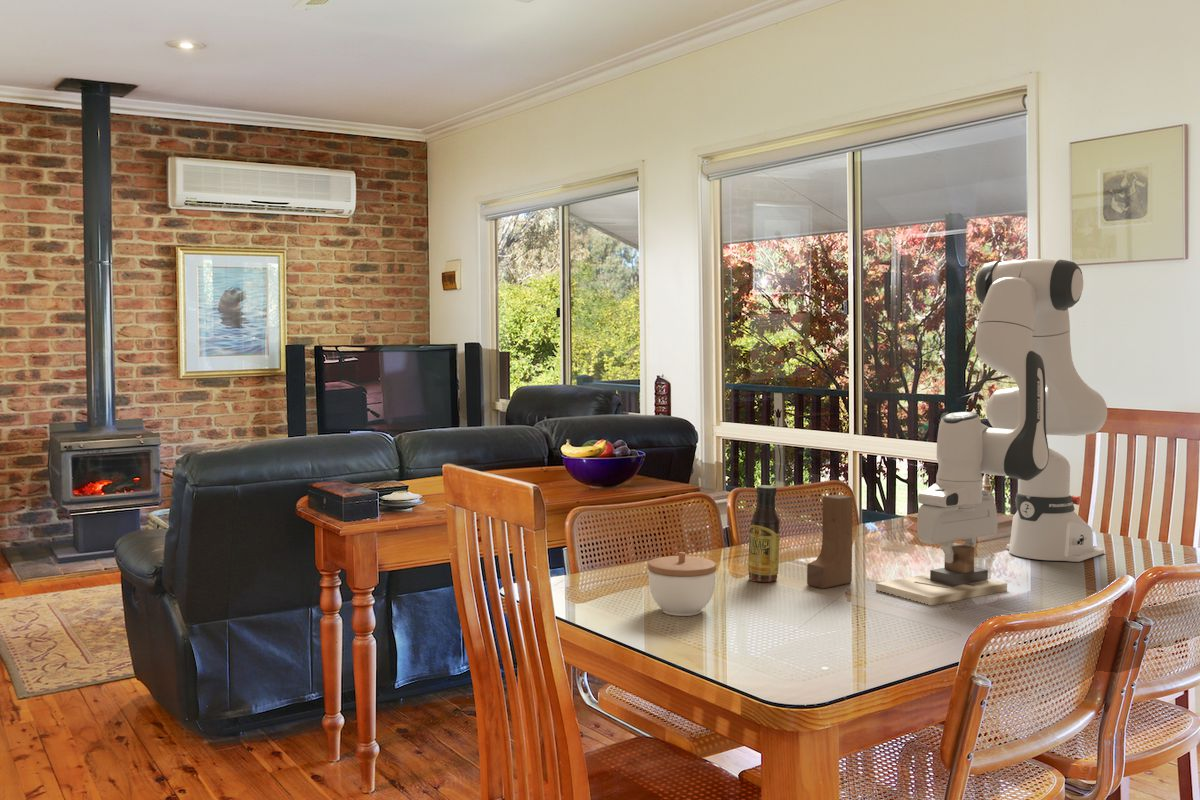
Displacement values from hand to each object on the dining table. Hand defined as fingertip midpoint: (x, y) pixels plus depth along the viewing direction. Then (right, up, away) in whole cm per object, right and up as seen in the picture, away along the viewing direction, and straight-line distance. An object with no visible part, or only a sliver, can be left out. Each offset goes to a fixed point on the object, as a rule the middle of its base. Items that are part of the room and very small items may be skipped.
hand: (958, 561), depth 211 cm
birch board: (-4, -6, -2) cm, 7 cm away
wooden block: (-25, -6, +4) cm, 26 cm away
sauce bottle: (-38, -5, +8) cm, 39 cm away
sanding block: (0, -4, 0) cm, 4 cm away
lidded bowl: (-57, -7, -17) cm, 60 cm away
